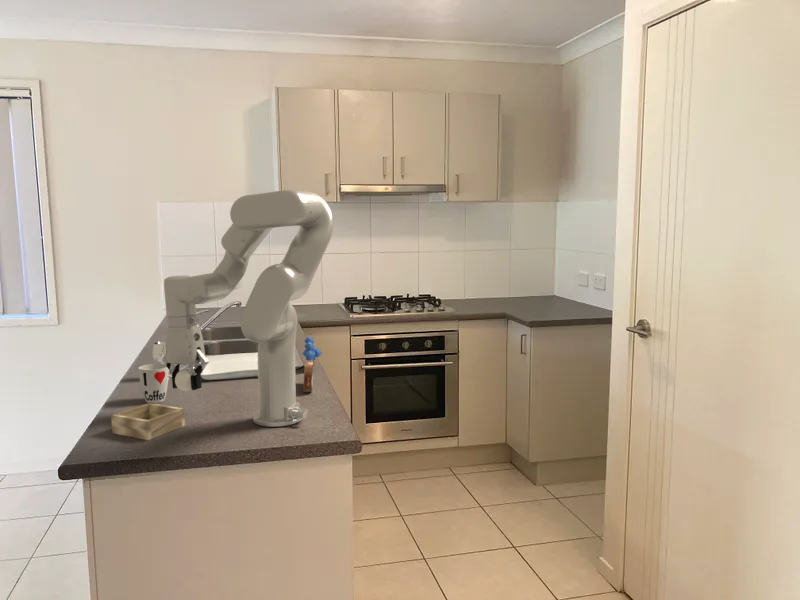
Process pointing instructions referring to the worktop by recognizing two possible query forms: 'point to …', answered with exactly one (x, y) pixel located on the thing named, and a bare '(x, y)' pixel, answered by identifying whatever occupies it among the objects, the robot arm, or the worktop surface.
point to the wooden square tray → (148, 421)
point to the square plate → (231, 366)
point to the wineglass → (159, 352)
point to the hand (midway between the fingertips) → (187, 387)
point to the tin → (308, 376)
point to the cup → (154, 382)
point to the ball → (183, 380)
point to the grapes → (311, 350)
